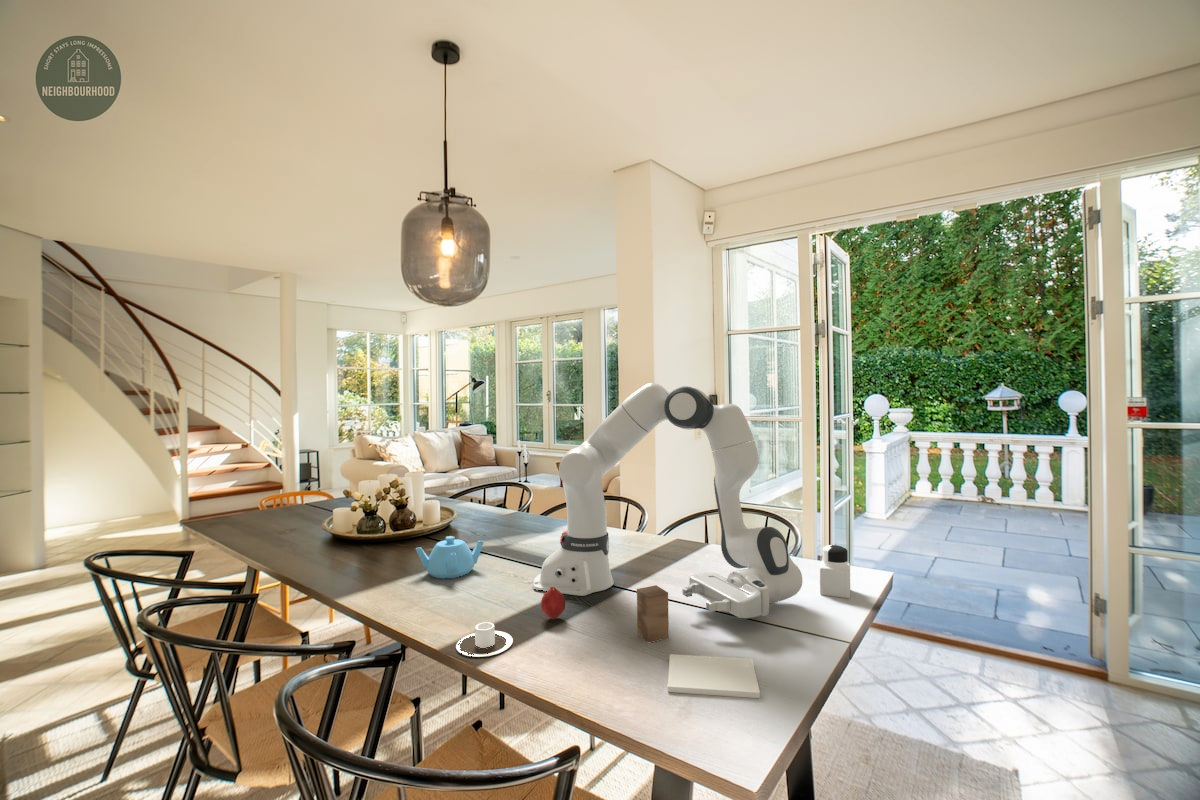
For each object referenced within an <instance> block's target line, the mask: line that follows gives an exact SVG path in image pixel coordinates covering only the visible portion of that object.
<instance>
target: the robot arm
mask: <svg viewBox="0 0 1200 800" xmlns="http://www.w3.org/2000/svg"><path fill="white" fill-rule="evenodd" d="M667 420H668V421H669V422H670V423H671V424H673V426H675V427H677V428H680V429H683V430H696V429H697V430H698V429H699V430H701V431H703V432H704V434H705V435H706V437H707V438H708V442H709V446H710V449H711V452H712V457H713V460H714V468H715V470H714V471H715V472H714V473H715V474H714V477H713V486H714V494H715V501H716V506H717V511H718V517H719V522H720V531H721V536H720V537H721V539H720V540H721V541H720V542H721V543H720V546H721V553H722V555H723V558H724V559H725V561H726V562H727V564H728V565H730V566H732V567H733V568H736V569H737V570H734V571H731V572H730V573H729V574H728V576H727V577H724V576H723V575H720V574H718V573H715V572H705V573H696V574H692V575H690V576H689V585H688V586H686V587H683V588H682V590H681V592H682V595H683V596H685V597H686V598H690V597H693V594H695V595H699V596H700V597H702V598H704V599H705V600H707V601H706V603H705V605H706V607H705V608H706V610H708V611H709V612H716V611H718V612H728V613H730V614H731V615H733V616H735V617H736V618H738V619H739V618H740V619H751V618H752V619H753V618H756V617H759V616H762V617H764V616H765V617H766V616H769V613H770V604H773V603H778V602H781V601H785V600H788V599H790V598H792V597H795V596H796V595H797V594H798V593H799V592H800V590H801V589H802V586H803V574H802V572H801V570H800V568H799V566H798V565H796V564H795V563H794V561H793V560H792V558H791V556H790V555H789V554H790V553H789V550H788V544H787V541H786V538H785V537H784V535H783V534H782V533H781V532H780V531H779V529H777V528H775V527H773V526H759V527H753V528H752V527H751V528H748V527H747V526H746V524H745V522H744V518H743V517H744V516H743V511H742V507H741V500H740V492H741V489H742V487H743V486H744V485H745V483H746V482H747V481H748V480H749V479H751V478H752V477H753V475H754V474H755V473H756V471H757V469H758V467H759V464H760V463H759V462H760V460H759V459H760V457H759V451H758V447H757V445H756V442H755V439H754V435H753V432H752V430H751V429H752V428H751V427H750V424H749V423H748V420H747V419H746V416H745V414H744V412H743V411H742V409H741V408H740V407H739V406H738V405H736V404H733V403H721V404H713V403H712V401H711V400H710V398H709V397H708V396H707V394H705V393H704V392H703V391H702V390H700V389H699V388H695V387H691V386H685V385H684V386H679V387H676V388H674V389H673V390H672V391H669V390H667V389H665V387H663V386H662V385H660V384H658V383H655V382H649V383H646V384H644V385H643V386H641V387H640V388H638V389H636V390H635V391H634V392H632V393H631V394H630V395H629V396H628V397H626V399H624V400H623V401H622V402H621V403H620V404H619V405H617V407H616V408H615V409H614V410H613V411H612V412H611V413H610V414H608V416H606V417H605V418H604V420H602V421H601V422H600V424H598V426H597V427H596V428H595V430H594V431H593V432H592V433H590V435H589V436H588V437H587V438H586V439H585V440H584V441H583V442H582V443H581V444H580V445H578V446H576V447H574V448H571V449H569V450H568V451H567V452H565V454H564V455H563V456H562V458H561V460H560V462H559V465H558V475H559V478H560V480H561V482H562V488H563V493H564V497H565V503H566V505H565V506H566V520H567V521H566V523H567V524H566V526H567V527H566V528H567V530H564V531H563V532H562V533H561V536H560V538H559V543H560V547H558V548H557V549H556V550H555V551H554V552H553V553H551V554H550V555H549V556H547V557H546V559H544V561H543V563H542V566H541V570H540V573H539V574H537V576H536V577H535V578H534V579H533V581H532V588H534V589H536V590H535V591H538V590H543V591H542V592H546V591H548V590H550V588H551V586H555V588H556V589H557V590H559V591H560V592H561V593H562V594H563V595H564V594H565V595H573V596H580V597H581V596H582V597H583V596H584V597H585V596H587V595H590V594H592V593H596V592H601V591H602V592H603V591H605V590H607V589H609V588H611V587H612V586H613V585H614V579H613V576H612V572H611V567H610V566H611V565H610V561H609V552H610V538H609V533H608V530H607V529H608V526H607V525H608V523H607V504H606V500H605V496H604V490H603V482H602V480H603V477H604V476H605V475H607V474H608V473H609V471H611V470H612V469H613V468H614V467H615V466H616V465H617V464H618V463H619V462H620V461H621V460H622V459H623V458H624V457H625V456H626V455H627V454H628V453H629V452H630V451H631V450H632V449H634V448H635V446H637V445H638V443H640V442H641V441H642V440H643V439H644V438H645V437H646V436H647V435H648V434H650V433H651V432H652V430H653V429H655V428H656V427H657V425H659V424H660V423H662V422H663V421H667ZM739 569H740V570H739ZM534 589H533V590H534Z"/></svg>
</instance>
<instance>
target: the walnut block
mask: <svg viewBox="0 0 1200 800" xmlns="http://www.w3.org/2000/svg"><path fill="white" fill-rule="evenodd" d="M636 604H637V605H636V615H637V617H636V618H637V619H636V621H637V622H636V623H637V625H636V626H637V629H636V630H637V635H639V637H641V636H642V637H643V638H644V639H643V638H642V637H641V638H642V639H643V640H644V641H646V640H647V641H648V642H651V643H654V642H653V641H655V642H657V640H659V641H661V640H660V639H663V640H666V638H667V639H669V637H670V633H669V631H670V629H669V625H670V624H669V592H668V591H666V590H665V589H663V588H661V587H660V586H659V585H657V584H656V585H651V586H650V585H649V586H646V587H640V588H636ZM647 641H646V642H647ZM648 642H647V643H648Z"/></svg>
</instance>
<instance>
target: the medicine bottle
mask: <svg viewBox="0 0 1200 800" xmlns="http://www.w3.org/2000/svg"><path fill="white" fill-rule="evenodd" d="M848 561H849V559H848V549H847V548H845V547H844V546H841V545H838V544H837V545H836V544H829V545H825V546H823V547H822V560H821V561H820V565H819V593H820V595H821V596H827V595H828V596H829V597H836V598H843V599H850V598H851V563H850V562H848ZM828 596H827V597H828Z"/></svg>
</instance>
